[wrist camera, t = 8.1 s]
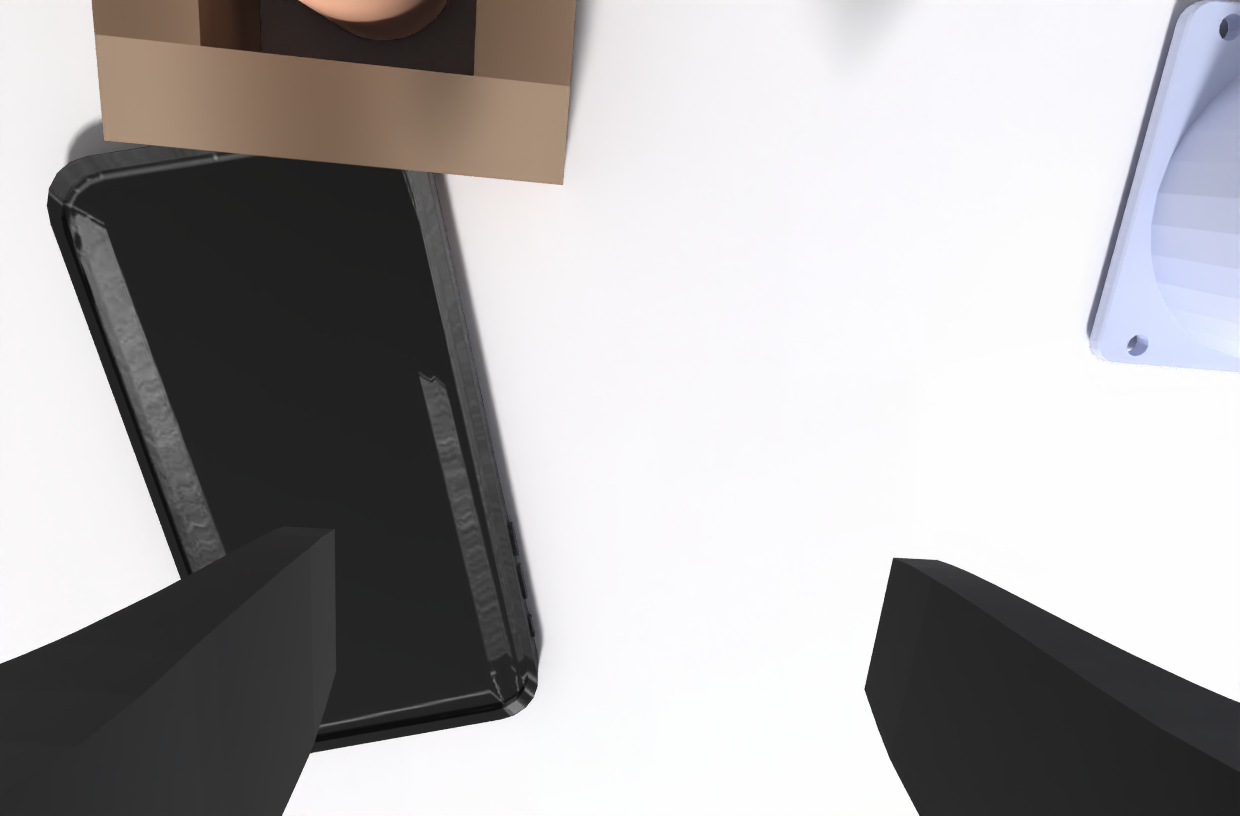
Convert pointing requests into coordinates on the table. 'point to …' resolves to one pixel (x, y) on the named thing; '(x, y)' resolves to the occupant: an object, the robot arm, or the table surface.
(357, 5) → the peg
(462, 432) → the phone
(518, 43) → the socket block
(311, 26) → the table surface
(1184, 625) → the table surface
